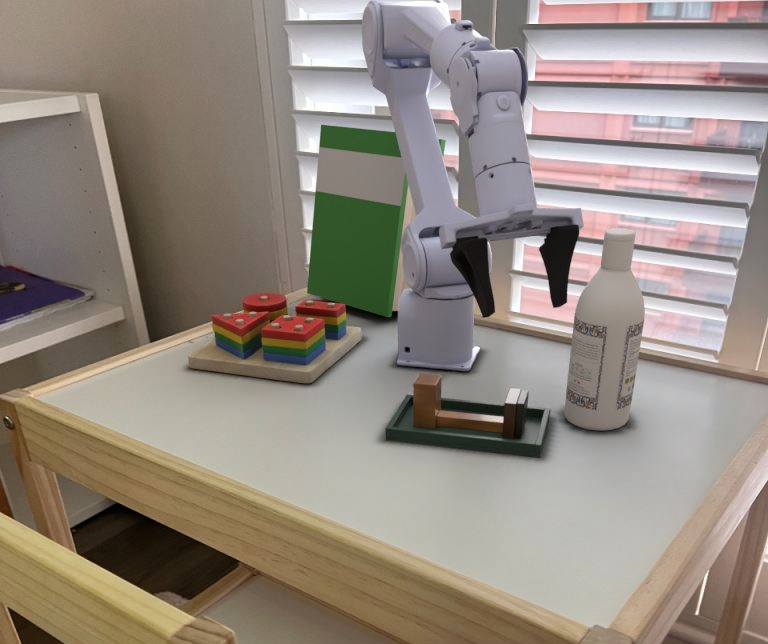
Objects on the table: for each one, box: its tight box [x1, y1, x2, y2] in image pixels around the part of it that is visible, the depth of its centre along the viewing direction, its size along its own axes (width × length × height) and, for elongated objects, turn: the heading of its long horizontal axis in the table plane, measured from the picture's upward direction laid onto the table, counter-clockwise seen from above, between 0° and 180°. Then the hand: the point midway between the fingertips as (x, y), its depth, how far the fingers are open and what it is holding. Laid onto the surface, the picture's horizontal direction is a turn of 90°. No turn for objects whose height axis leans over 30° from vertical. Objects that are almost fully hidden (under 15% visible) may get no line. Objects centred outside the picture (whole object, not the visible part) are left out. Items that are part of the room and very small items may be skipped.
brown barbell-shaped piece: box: [412, 372, 530, 439], centre depth 85 cm, size 12×4×5 cm, turn 74°
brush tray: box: [384, 394, 551, 458], centre depth 86 cm, size 16×9×1 cm, turn 74°
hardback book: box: [306, 124, 447, 318], centre depth 118 cm, size 18×7×24 cm, turn 45°
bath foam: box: [563, 227, 646, 432], centre depth 83 cm, size 7×7×20 cm
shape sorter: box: [187, 292, 362, 384], centre depth 106 cm, size 18×17×6 cm
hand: (524, 310), depth 81 cm, fingers open, 7 cm apart
